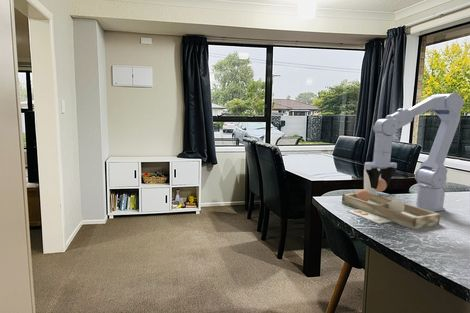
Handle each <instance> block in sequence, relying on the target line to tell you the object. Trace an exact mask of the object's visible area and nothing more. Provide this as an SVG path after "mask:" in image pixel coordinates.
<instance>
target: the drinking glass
mask: <svg viewBox="0 0 470 313" xmlns="http://www.w3.org/2000/svg"><path fill="white" fill-rule="evenodd" d="M371 162H372V161H366V162H364V166H363V168H364V169H363V190H367V191H368V192H369V193H371V194H375V195H378V193H379V192H378V191H376V190H374V189H373V188H371V185H370V180H369V176H368V174H367V172H366V169H365V164H368V163H371ZM377 170H378V171H380V169H377ZM379 178H381V174H380V177H379Z"/></svg>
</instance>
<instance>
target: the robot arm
mask: <svg viewBox="0 0 470 313" xmlns="http://www.w3.org/2000/svg"><path fill="white" fill-rule="evenodd" d="M464 103H465V101H464V99H463V97H462V96H461V94H459V93H457V92H452V93H435V94H432V95H430V96H427V98H425V99H424V100H422V101H420V102H419V103H416V104H415V105H414V106H412V107H410V108H409V109H408V108H398V109H397V110H396V111H395V112H394V113H392V114H387V115H386V116H385V118H380V119H377V120H376V122H375V123H374V125H373V126H372V129H373V132H374V137H375V139H374V149H373V150H374V151H373V161H370V162H371V163H368V164H365V163H364V166H365V169H366V172H367V174H368V176H369V180H370V185H371V188H374V189H377V186H378V180H379V177H380V178H381V179H384V180H385V181H386V184H387V187H386V188H388V187H389V184H390V181H391V179H392V177H393V176H394V174H396V172H397V171H396V169H397V167H398V163H397V162H392V161H391V156H392V150H393V149H392V146H393V138H394V135H395V134H396V133H397V132H398V130H399V129H401V128H403V127H405V126H406V125H408V124H411V123H412V122H413V120H414V118H415V117H416V116H420V115H422V114H423V113H425V112H428V111H430V110H431V111H432V112H433V113H434V114H436V116H438V117H439V119H440V120H441V122H440V124H439V127H438V129H437V132H436V134H435V137H434V141H433V144H432V146H431V148H430V151H429V154H428V156H427V159H426V160H424V161H423V162H422V163H420V165H419V167H418V168H417V169H416V171H415V172H414V179H415V181H416V183H417V185H418V186H417V192H416V193H417V195H416V202H415V203H416V204H411V205H412V206H415V207H418V208H422V209H425V210H429V211H432V212H435V213H436V212H440V211H445V210H446V208H444V203H445V196H446V195H445V194H446V193H445V190H444V188H443V186H445V184H446V182H447V173H448V168H447V167H446V166H445V161H446V158H447V155H448V153H449V151H450V150H449V149H450V148H451V145H452V142H453V139H454V137H455V134H456V132H457V129H458V126H459V123H460V120H461V112H462V109H463V107H464V106H463V105H464ZM377 169H380V171H378V170H377ZM380 174H381V176H380Z"/></svg>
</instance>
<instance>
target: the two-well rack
mask: <svg viewBox="0 0 470 313" xmlns="http://www.w3.org/2000/svg"><path fill="white" fill-rule="evenodd" d="M369 194H370V199H369V200H368V201H367V202H366V201H363V200H360V199H357V192H354V193H353V192H352V193H344V194H342V198H341V204H344V205H346V206H349V207H352V208H355V209H360V210H363V211H366V212H369V213H371V214H374V215H377V216H380V217H382V218H385V219H388V220H391V221H392V223H395V224H398V225H401V226H403V227H406V228H409V229H411V230H417V229H421V228H427V227H432V226H436V225H440V221H441V213H439V212H436V211H435V212H432V211H429V210H425V209H422V208H418V207H415V206H412V205H413V204H408V203H404V202H403V203H404V206H405V207H404V210H403V212H401V213H400V212H397V211H394V210H391V209H389V203H390V202H391V201H392V200H393V199H392V198H387V197H385V196H381V195H378V194H377V195H375V194H371V193H369Z"/></svg>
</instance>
